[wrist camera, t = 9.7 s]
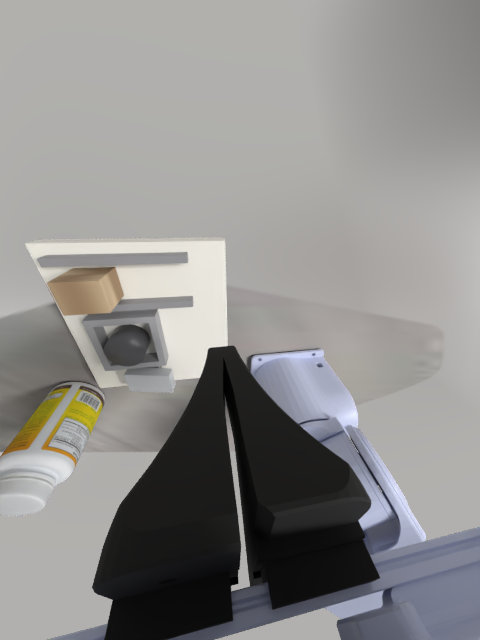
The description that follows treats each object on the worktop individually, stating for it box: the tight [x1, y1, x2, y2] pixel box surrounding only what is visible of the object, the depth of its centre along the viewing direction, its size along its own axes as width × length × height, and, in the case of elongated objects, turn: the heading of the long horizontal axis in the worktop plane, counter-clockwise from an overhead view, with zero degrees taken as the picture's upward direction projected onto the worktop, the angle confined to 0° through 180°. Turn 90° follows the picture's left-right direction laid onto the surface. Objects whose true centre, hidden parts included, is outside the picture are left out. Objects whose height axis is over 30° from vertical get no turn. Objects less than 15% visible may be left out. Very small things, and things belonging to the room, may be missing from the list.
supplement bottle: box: [0, 382, 105, 516], centre depth 20 cm, size 6×6×10 cm
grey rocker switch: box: [124, 368, 176, 393], centre depth 20 cm, size 4×2×1 cm, turn 89°
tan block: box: [47, 267, 124, 316], centre depth 15 cm, size 3×2×3 cm
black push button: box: [104, 324, 150, 366], centre depth 18 cm, size 3×3×2 cm
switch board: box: [25, 238, 228, 388], centre depth 19 cm, size 14×15×3 cm
